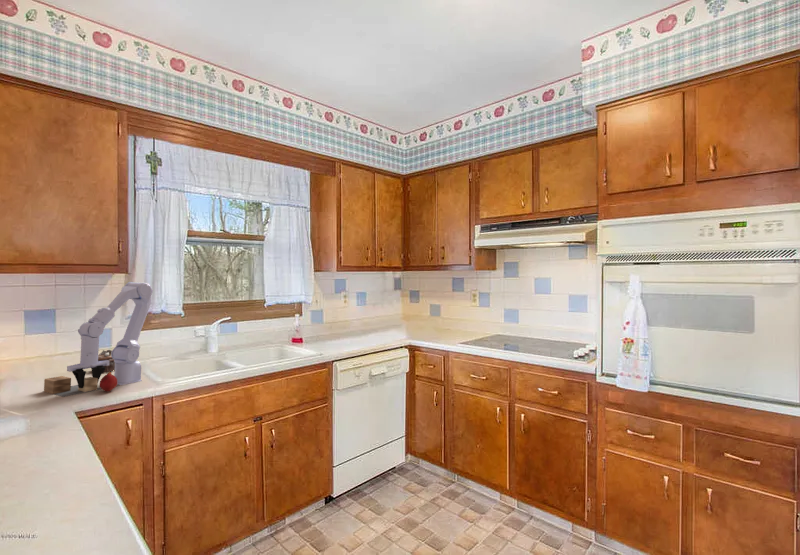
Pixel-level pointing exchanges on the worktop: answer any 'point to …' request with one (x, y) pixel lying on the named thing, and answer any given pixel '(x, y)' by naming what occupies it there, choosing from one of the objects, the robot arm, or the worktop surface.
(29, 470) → the worktop surface
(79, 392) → the mat
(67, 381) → the tower top
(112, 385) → the red round fruit
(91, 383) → the cube
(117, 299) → the robot arm
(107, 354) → the cupcake
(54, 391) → the tower base
